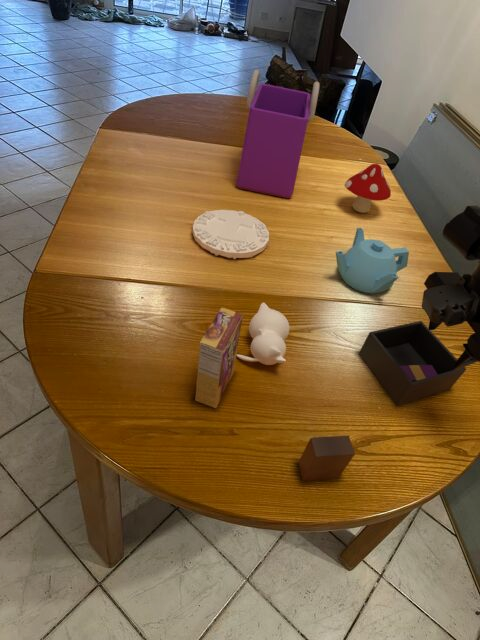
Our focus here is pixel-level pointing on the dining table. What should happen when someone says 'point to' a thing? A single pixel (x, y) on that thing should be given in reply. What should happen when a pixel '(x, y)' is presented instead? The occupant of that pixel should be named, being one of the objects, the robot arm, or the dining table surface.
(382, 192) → the decorative mushroom
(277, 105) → the shopping bag
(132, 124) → the dining table surface
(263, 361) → the cat figurine
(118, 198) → the dining table surface
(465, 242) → the robot arm
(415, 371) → the chocolate bar
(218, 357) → the candy box
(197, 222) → the white round plaque
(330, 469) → the block stand
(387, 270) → the teakettle
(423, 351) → the waste bin
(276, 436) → the dining table surface
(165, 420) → the dining table surface
